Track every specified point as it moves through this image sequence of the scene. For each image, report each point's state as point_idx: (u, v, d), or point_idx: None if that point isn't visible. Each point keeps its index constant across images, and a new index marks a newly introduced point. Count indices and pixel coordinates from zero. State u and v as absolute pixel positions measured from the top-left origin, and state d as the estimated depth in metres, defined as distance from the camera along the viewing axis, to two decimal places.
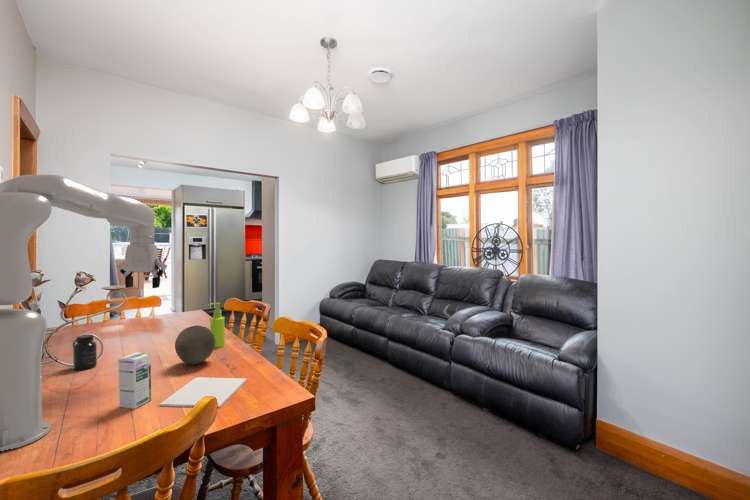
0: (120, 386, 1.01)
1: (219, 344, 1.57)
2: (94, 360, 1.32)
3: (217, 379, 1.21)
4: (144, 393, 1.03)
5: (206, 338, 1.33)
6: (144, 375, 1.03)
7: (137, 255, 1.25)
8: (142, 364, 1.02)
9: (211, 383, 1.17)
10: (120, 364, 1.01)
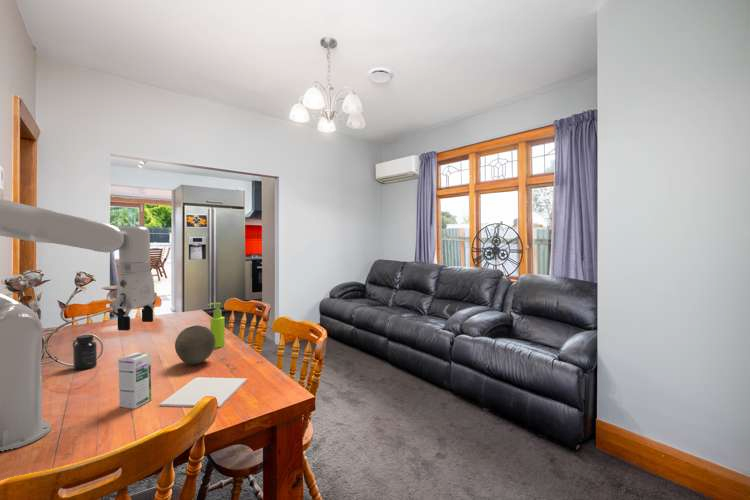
0: (120, 386, 1.01)
1: (219, 344, 1.57)
2: (94, 360, 1.32)
3: (217, 379, 1.21)
4: (144, 393, 1.03)
5: (206, 338, 1.33)
6: (144, 375, 1.03)
7: (144, 285, 1.02)
8: (142, 364, 1.02)
9: (211, 383, 1.17)
10: (120, 364, 1.01)
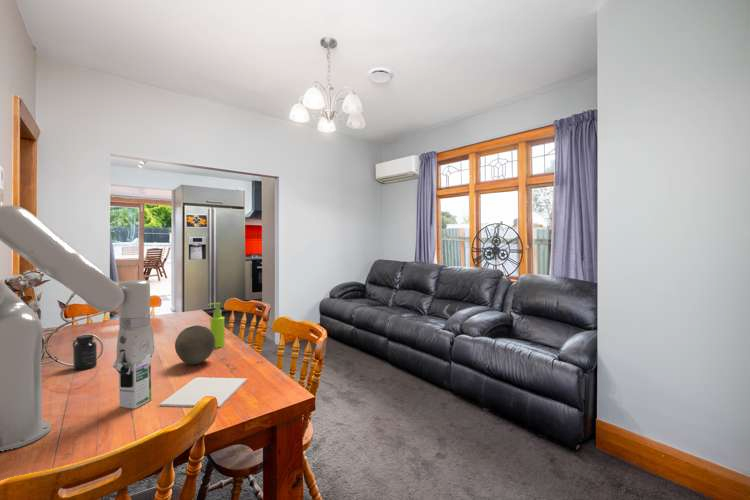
0: (120, 386, 1.01)
1: (219, 344, 1.57)
2: (94, 360, 1.32)
3: (217, 379, 1.21)
4: (144, 393, 1.03)
5: (206, 338, 1.33)
6: (144, 375, 1.03)
7: (143, 339, 1.03)
8: (142, 364, 1.02)
9: (211, 383, 1.17)
10: None
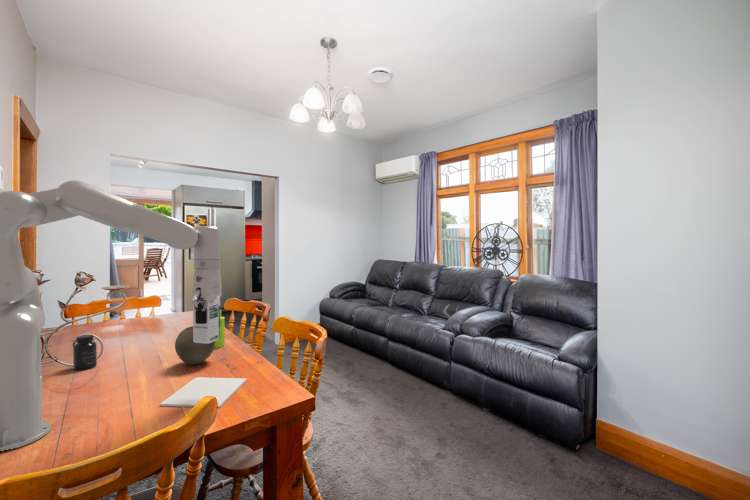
0: (194, 323, 1.09)
1: (219, 344, 1.57)
2: (94, 360, 1.32)
3: (217, 379, 1.21)
4: (215, 331, 1.11)
5: None
6: (215, 314, 1.11)
7: (215, 280, 1.11)
8: (214, 303, 1.11)
9: (211, 383, 1.17)
10: None
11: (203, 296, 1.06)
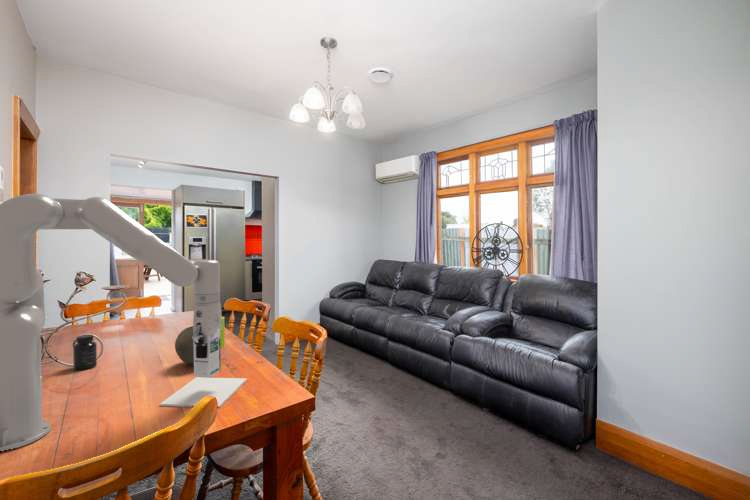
0: (195, 357, 1.09)
1: None
2: (94, 360, 1.32)
3: (217, 379, 1.21)
4: (216, 364, 1.12)
5: None
6: (215, 347, 1.11)
7: (215, 314, 1.11)
8: (214, 337, 1.11)
9: (211, 383, 1.17)
10: None
11: (203, 331, 1.06)
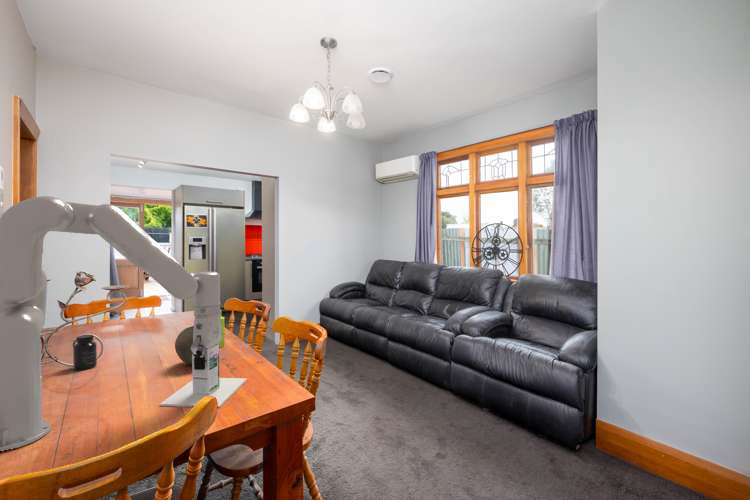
0: (194, 374, 1.09)
1: None
2: (94, 360, 1.32)
3: None
4: (215, 380, 1.11)
5: None
6: (214, 363, 1.11)
7: (215, 326, 1.11)
8: (213, 353, 1.11)
9: None
10: None
11: (203, 344, 1.06)
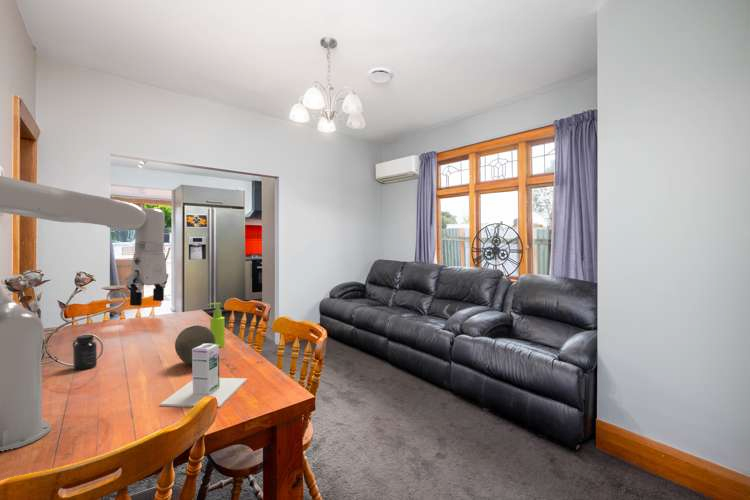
0: (194, 374, 1.09)
1: (219, 344, 1.57)
2: (94, 360, 1.32)
3: None
4: (215, 380, 1.11)
5: (206, 338, 1.33)
6: (214, 363, 1.11)
7: (156, 264, 1.08)
8: (213, 353, 1.11)
9: None
10: (194, 354, 1.09)
11: (141, 279, 1.03)
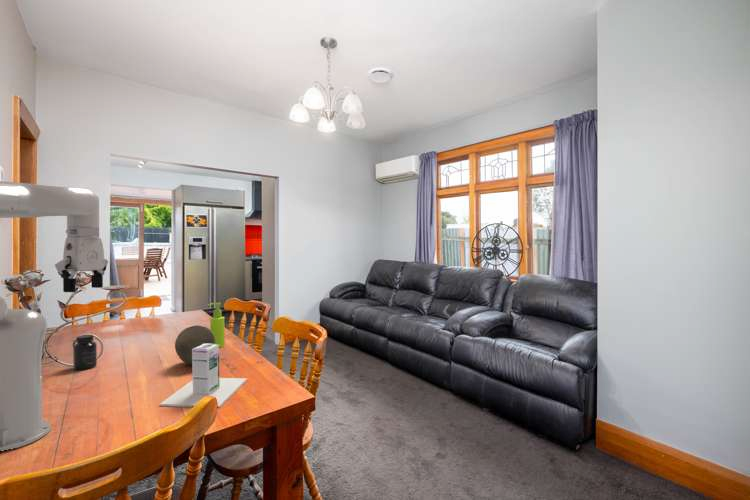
0: (194, 374, 1.09)
1: (219, 344, 1.57)
2: (94, 360, 1.32)
3: None
4: (215, 380, 1.11)
5: (206, 338, 1.33)
6: (214, 363, 1.11)
7: (91, 250, 1.05)
8: (213, 353, 1.11)
9: None
10: (194, 354, 1.09)
11: (73, 265, 1.01)
